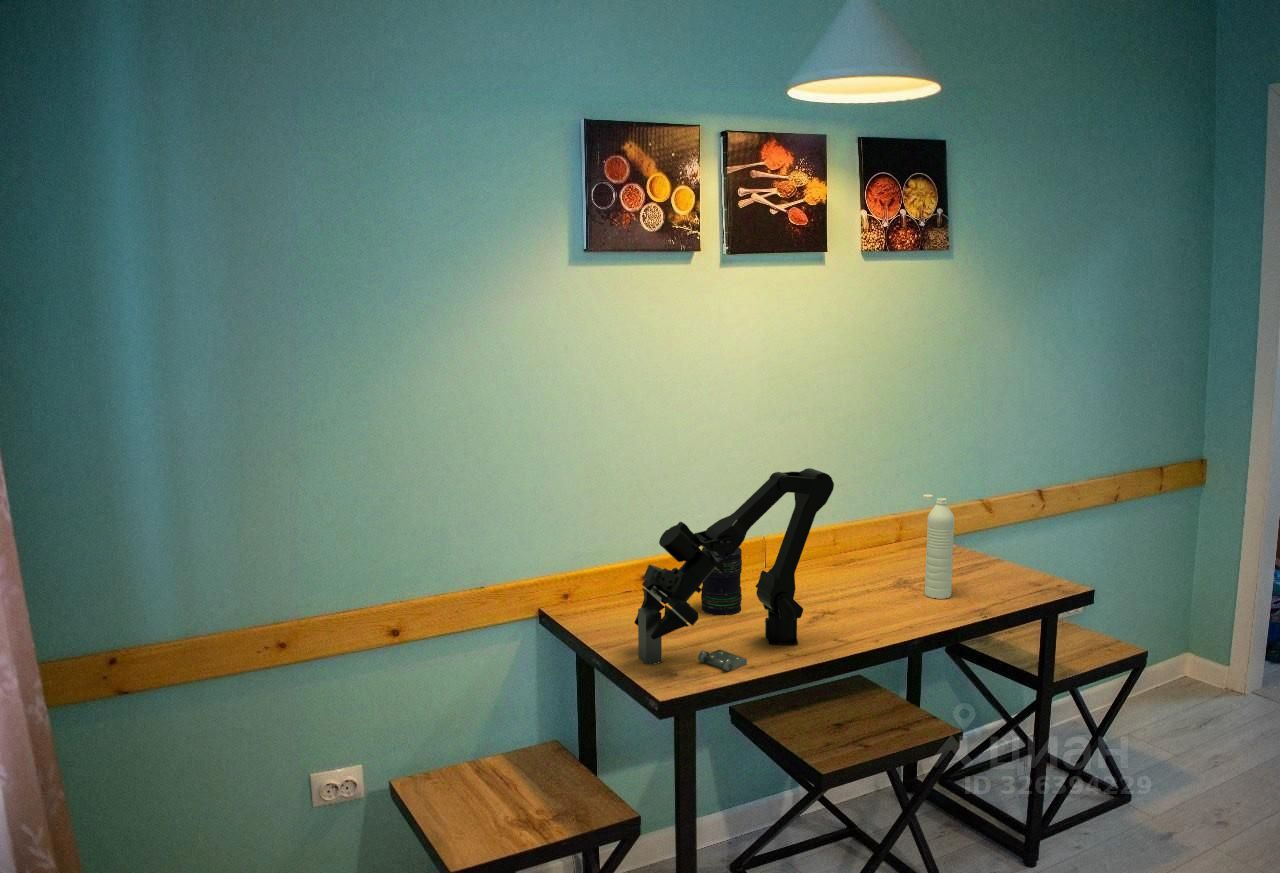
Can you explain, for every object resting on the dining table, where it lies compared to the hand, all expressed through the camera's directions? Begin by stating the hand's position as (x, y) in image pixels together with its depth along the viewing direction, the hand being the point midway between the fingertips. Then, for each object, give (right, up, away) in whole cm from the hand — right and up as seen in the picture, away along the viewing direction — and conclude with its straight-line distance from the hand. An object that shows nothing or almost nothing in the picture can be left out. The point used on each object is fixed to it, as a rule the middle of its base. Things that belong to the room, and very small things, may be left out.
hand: (643, 631), depth 227 cm
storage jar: (+19, -1, +34) cm, 39 cm away
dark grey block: (+1, -7, +2) cm, 7 cm away
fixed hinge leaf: (+17, -7, -1) cm, 18 cm away
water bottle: (+74, +1, +44) cm, 86 cm away
